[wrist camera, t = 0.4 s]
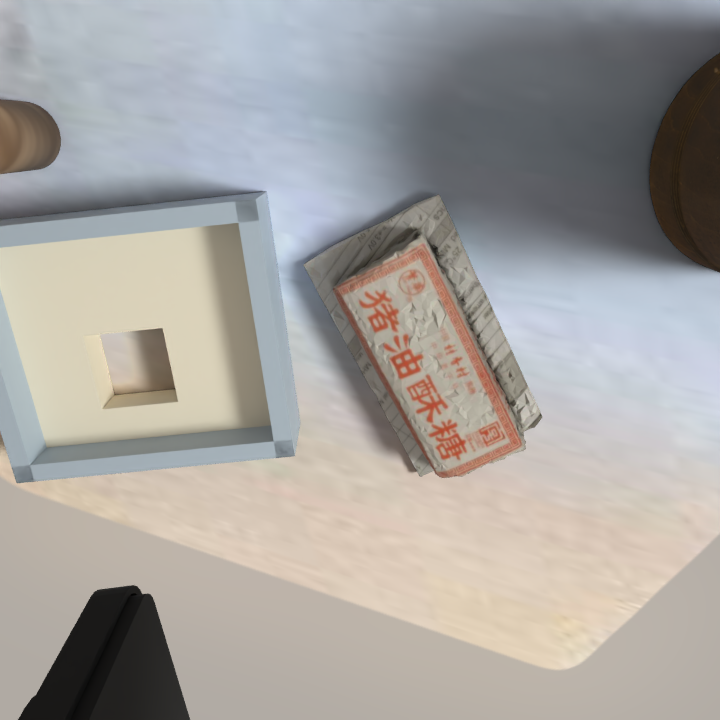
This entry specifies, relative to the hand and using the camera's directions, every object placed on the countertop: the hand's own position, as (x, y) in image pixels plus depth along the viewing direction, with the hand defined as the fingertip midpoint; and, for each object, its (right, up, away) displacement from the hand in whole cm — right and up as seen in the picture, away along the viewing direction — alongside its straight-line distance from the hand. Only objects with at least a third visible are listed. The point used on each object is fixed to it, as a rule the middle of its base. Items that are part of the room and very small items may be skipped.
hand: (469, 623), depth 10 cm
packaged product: (+3, +5, +36) cm, 36 cm away
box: (-16, +6, +35) cm, 39 cm away
